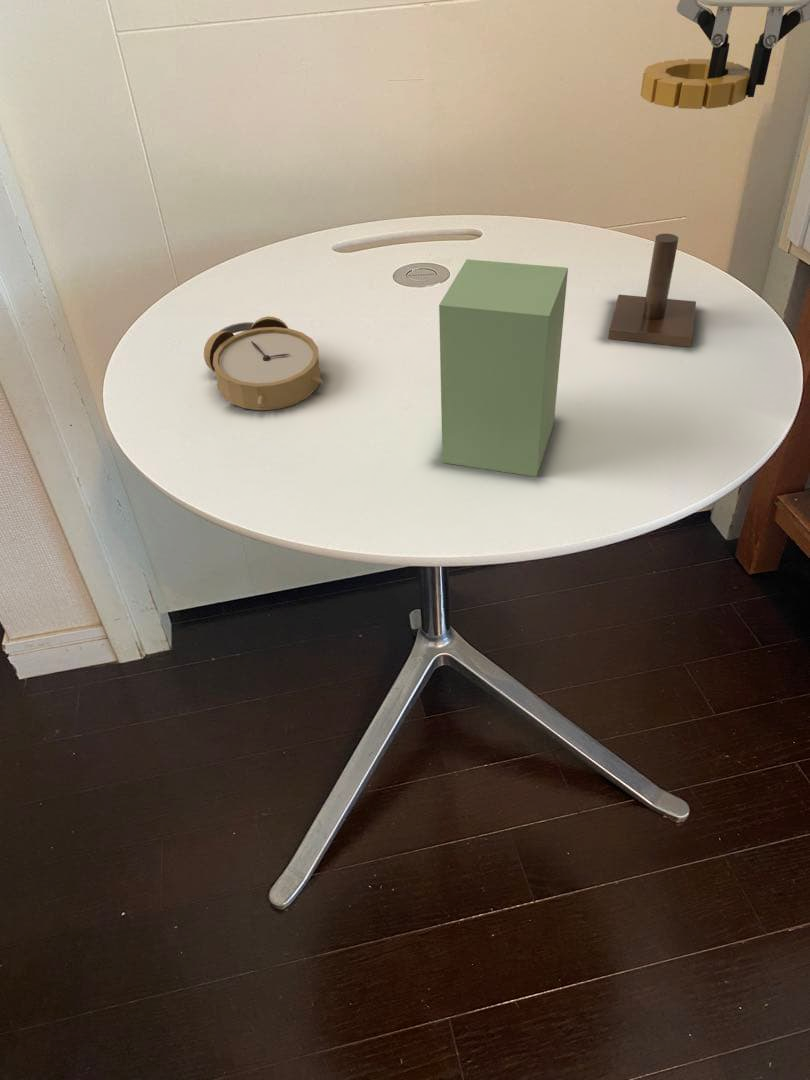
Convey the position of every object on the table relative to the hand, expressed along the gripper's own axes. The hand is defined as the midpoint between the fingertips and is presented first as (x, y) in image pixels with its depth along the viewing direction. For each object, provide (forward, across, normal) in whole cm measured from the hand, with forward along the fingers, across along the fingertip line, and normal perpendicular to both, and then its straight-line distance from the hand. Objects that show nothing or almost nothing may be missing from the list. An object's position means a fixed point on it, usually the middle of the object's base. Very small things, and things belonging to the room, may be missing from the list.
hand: (733, 91), depth 76 cm
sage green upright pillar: (+24, +16, +27) cm, 40 cm away
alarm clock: (+25, +44, +21) cm, 54 cm away
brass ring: (-1, +4, 0) cm, 4 cm away
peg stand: (+25, +4, 0) cm, 25 cm away
